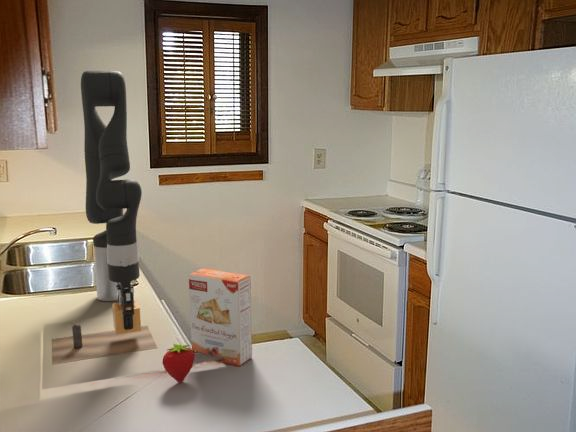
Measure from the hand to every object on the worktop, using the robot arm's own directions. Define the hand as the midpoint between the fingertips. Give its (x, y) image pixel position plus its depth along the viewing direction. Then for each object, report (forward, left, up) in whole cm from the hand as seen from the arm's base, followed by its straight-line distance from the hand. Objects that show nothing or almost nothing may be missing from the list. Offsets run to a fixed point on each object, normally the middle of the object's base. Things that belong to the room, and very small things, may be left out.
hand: (127, 324), depth 150 cm
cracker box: (+16, +20, -6) cm, 26 cm away
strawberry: (+25, +8, -6) cm, 27 cm away
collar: (0, 0, -1) cm, 1 cm away
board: (0, -6, -6) cm, 8 cm away
